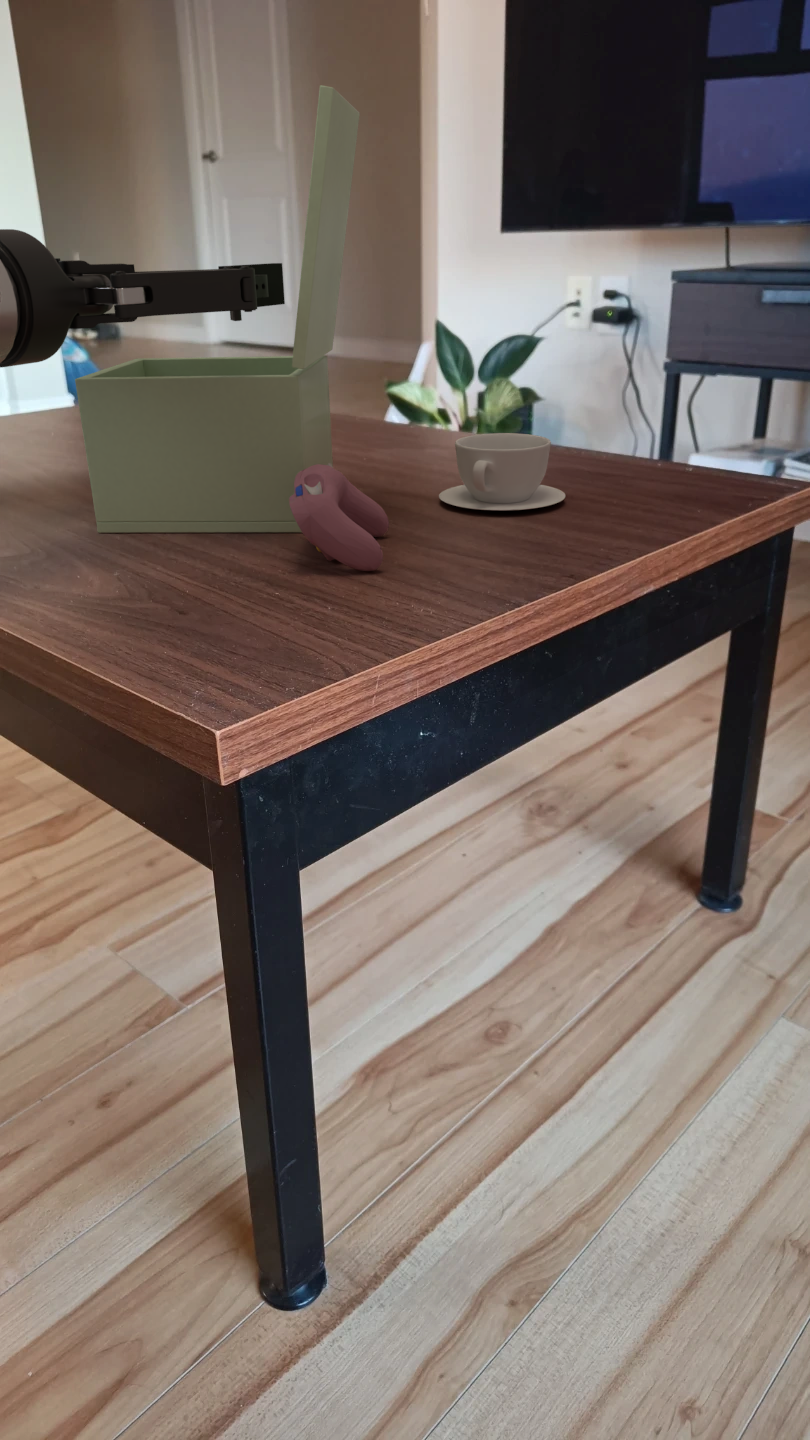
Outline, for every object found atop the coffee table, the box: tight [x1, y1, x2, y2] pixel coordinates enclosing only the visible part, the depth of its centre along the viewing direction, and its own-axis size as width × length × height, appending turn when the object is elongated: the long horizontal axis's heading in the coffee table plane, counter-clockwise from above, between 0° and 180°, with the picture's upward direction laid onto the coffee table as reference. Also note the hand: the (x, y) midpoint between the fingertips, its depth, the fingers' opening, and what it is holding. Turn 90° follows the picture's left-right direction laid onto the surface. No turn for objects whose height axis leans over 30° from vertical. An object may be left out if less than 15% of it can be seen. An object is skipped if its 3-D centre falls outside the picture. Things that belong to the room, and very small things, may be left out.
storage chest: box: [74, 355, 334, 534], centre depth 79 cm, size 16×14×11 cm
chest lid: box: [292, 85, 361, 369], centre depth 72 cm, size 16×14×1 cm
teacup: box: [438, 432, 566, 511], centre depth 81 cm, size 10×10×5 cm
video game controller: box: [289, 463, 390, 572], centre depth 68 cm, size 10×5×7 cm, turn 178°
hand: (203, 283), depth 77 cm, fingers open, 13 cm apart
